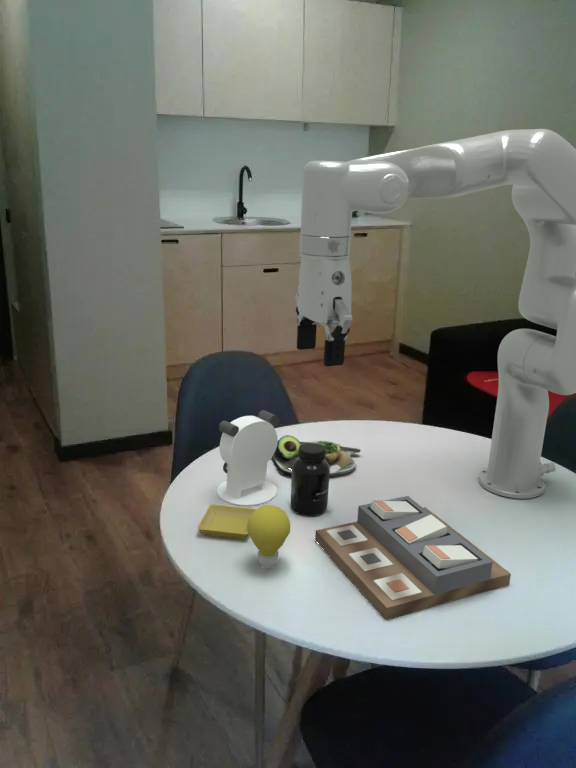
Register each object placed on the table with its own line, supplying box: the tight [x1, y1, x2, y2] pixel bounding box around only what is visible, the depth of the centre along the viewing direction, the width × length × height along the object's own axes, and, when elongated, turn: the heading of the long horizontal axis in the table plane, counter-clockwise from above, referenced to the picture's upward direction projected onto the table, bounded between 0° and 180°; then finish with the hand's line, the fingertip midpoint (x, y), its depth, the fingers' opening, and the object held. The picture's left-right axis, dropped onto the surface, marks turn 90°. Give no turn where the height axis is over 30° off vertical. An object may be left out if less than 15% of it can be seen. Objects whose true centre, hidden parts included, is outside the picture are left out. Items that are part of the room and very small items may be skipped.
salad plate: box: [272, 434, 362, 478], centre depth 142 cm, size 19×18×5 cm
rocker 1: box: [371, 499, 419, 519], centre depth 113 cm, size 7×4×2 cm, turn 114°
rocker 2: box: [395, 515, 447, 545], centre depth 106 cm, size 7×4×2 cm, turn 114°
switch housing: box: [356, 495, 492, 595], centre depth 107 cm, size 10×22×3 cm, turn 24°
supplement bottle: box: [289, 443, 331, 517], centre depth 121 cm, size 7×7×12 cm
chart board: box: [314, 506, 512, 621], centre depth 107 cm, size 22×22×2 cm
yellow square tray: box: [197, 503, 257, 540], centre depth 115 cm, size 9×9×2 cm
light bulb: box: [247, 504, 291, 570], centre depth 103 cm, size 7×7×10 cm
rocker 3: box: [423, 545, 478, 569], centre depth 100 cm, size 7×4×2 cm, turn 114°
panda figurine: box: [216, 409, 280, 507], centre depth 126 cm, size 12×11×15 cm
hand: (319, 356), depth 106 cm, fingers open, 9 cm apart
